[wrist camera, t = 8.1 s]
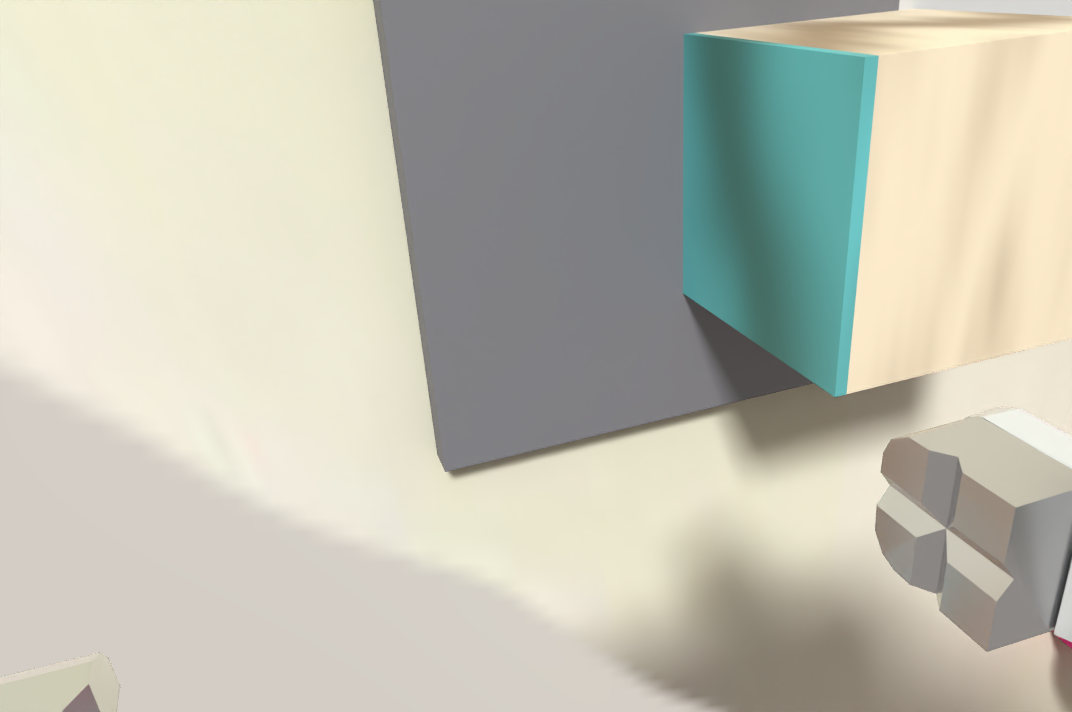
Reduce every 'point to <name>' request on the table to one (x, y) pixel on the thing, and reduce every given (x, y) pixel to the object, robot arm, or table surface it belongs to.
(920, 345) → the beech block
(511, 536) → the table surface
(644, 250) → the mat
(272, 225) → the table surface
